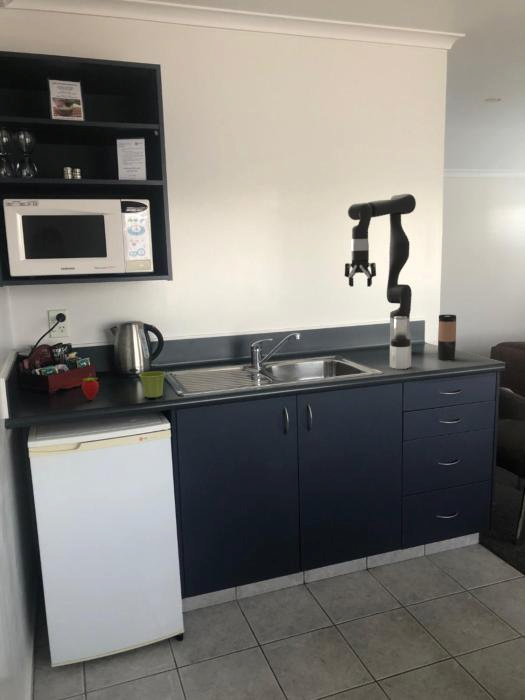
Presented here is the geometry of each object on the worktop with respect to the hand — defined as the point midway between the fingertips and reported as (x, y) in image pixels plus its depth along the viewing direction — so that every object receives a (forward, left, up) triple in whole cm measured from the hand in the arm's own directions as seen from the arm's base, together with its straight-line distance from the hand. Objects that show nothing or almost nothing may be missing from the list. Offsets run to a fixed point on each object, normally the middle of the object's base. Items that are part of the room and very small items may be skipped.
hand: (360, 286), depth 251 cm
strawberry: (+120, +8, -34) cm, 125 cm away
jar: (-7, +20, -34) cm, 40 cm away
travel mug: (-35, +17, -34) cm, 52 cm away
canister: (-7, +20, -22) cm, 31 cm away
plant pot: (+99, +15, -34) cm, 106 cm away
